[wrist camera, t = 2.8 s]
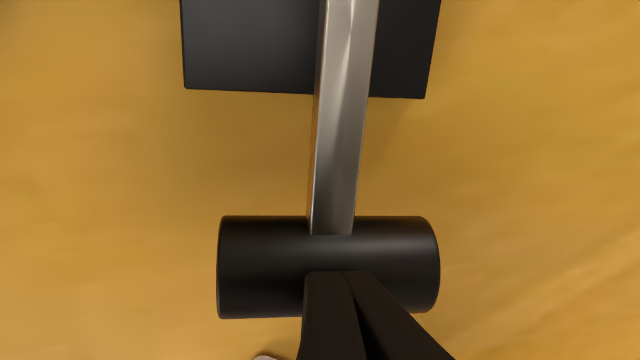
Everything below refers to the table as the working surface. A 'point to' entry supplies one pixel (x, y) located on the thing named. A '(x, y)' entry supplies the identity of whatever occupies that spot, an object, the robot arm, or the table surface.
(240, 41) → the bracket
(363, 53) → the lever
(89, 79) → the table surface
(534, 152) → the table surface
